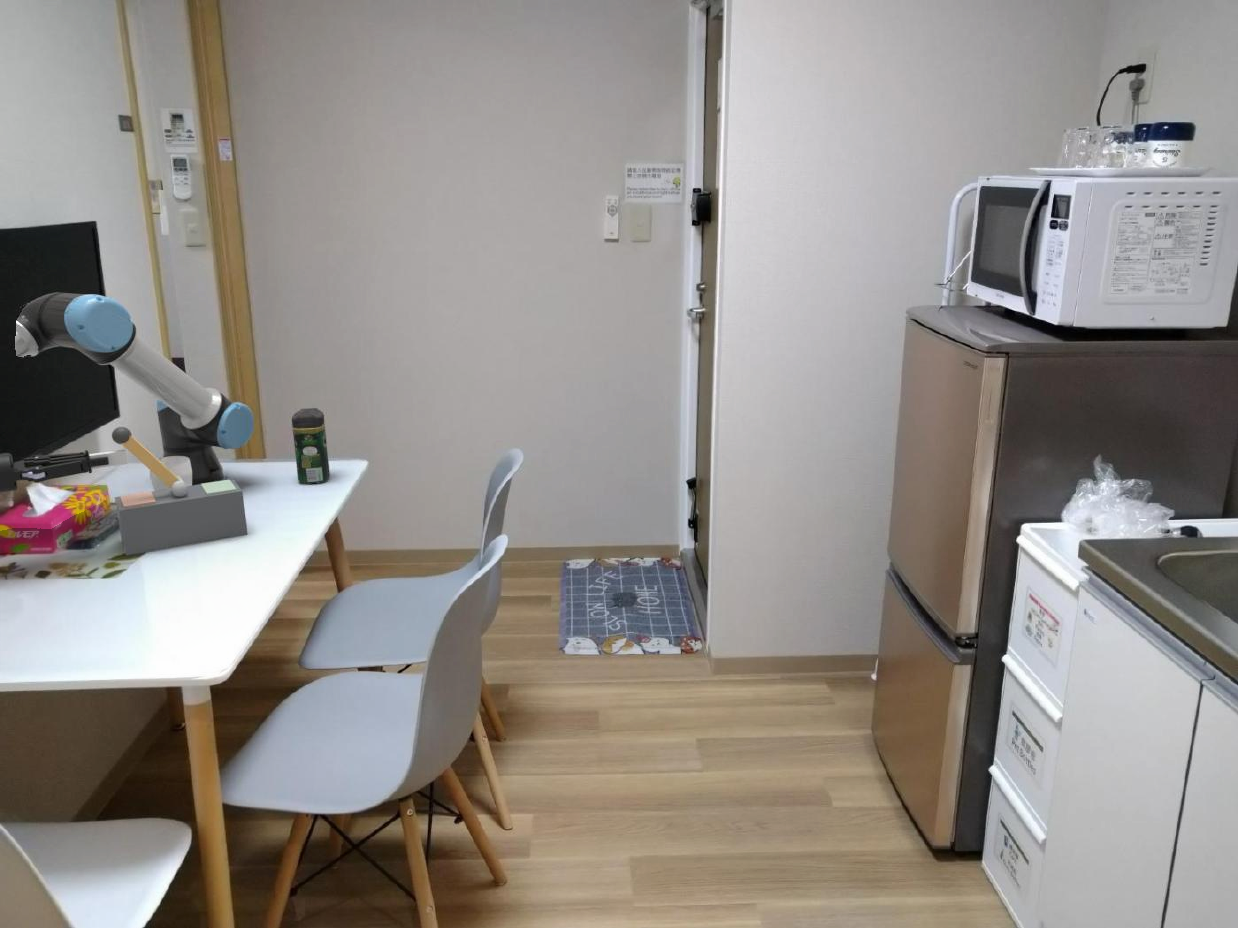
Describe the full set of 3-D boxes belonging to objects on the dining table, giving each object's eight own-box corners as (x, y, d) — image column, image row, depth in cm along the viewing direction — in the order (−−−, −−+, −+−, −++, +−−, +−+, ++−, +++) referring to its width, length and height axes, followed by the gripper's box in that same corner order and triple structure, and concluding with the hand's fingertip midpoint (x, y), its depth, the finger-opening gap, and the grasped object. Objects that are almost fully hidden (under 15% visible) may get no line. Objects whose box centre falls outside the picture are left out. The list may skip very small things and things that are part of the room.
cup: (162, 518, 218) (154, 469, 215) (150, 509, 225) (143, 460, 221) (202, 510, 224) (195, 461, 221) (189, 501, 230) (183, 453, 227)
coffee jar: (300, 474, 251) (293, 406, 246) (331, 473, 252) (325, 405, 247) (295, 486, 242) (288, 415, 237) (327, 484, 243) (321, 413, 238)
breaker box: (121, 540, 205) (114, 495, 202) (238, 520, 217) (233, 477, 214) (126, 555, 197) (118, 508, 194) (247, 534, 209) (242, 489, 206)
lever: (174, 492, 206) (106, 432, 196) (187, 481, 207) (120, 420, 197) (178, 500, 201) (109, 438, 191) (192, 488, 202) (123, 426, 192)
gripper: (-5, 484, 190) (125, 466, 202) (-6, 502, 180) (132, 482, 192) (-13, 448, 188) (120, 432, 200) (-14, 464, 178) (126, 446, 189)
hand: (125, 456), depth 196 cm, fingers closed
